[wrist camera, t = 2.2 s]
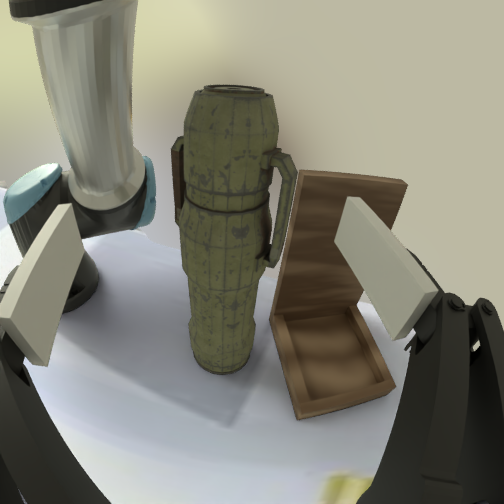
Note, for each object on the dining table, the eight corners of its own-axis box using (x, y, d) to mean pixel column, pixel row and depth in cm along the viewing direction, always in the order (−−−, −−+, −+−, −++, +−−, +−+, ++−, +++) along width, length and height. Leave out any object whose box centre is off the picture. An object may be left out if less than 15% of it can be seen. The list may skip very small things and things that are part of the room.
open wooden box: (269, 319, 46) (299, 169, 30) (347, 309, 49) (401, 179, 33) (296, 420, 32) (385, 287, 16) (387, 394, 35) (493, 269, 19)
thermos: (201, 315, 45) (199, 80, 23) (268, 342, 42) (319, 95, 21) (172, 355, 39) (136, 90, 17) (245, 388, 36) (293, 102, 14)
